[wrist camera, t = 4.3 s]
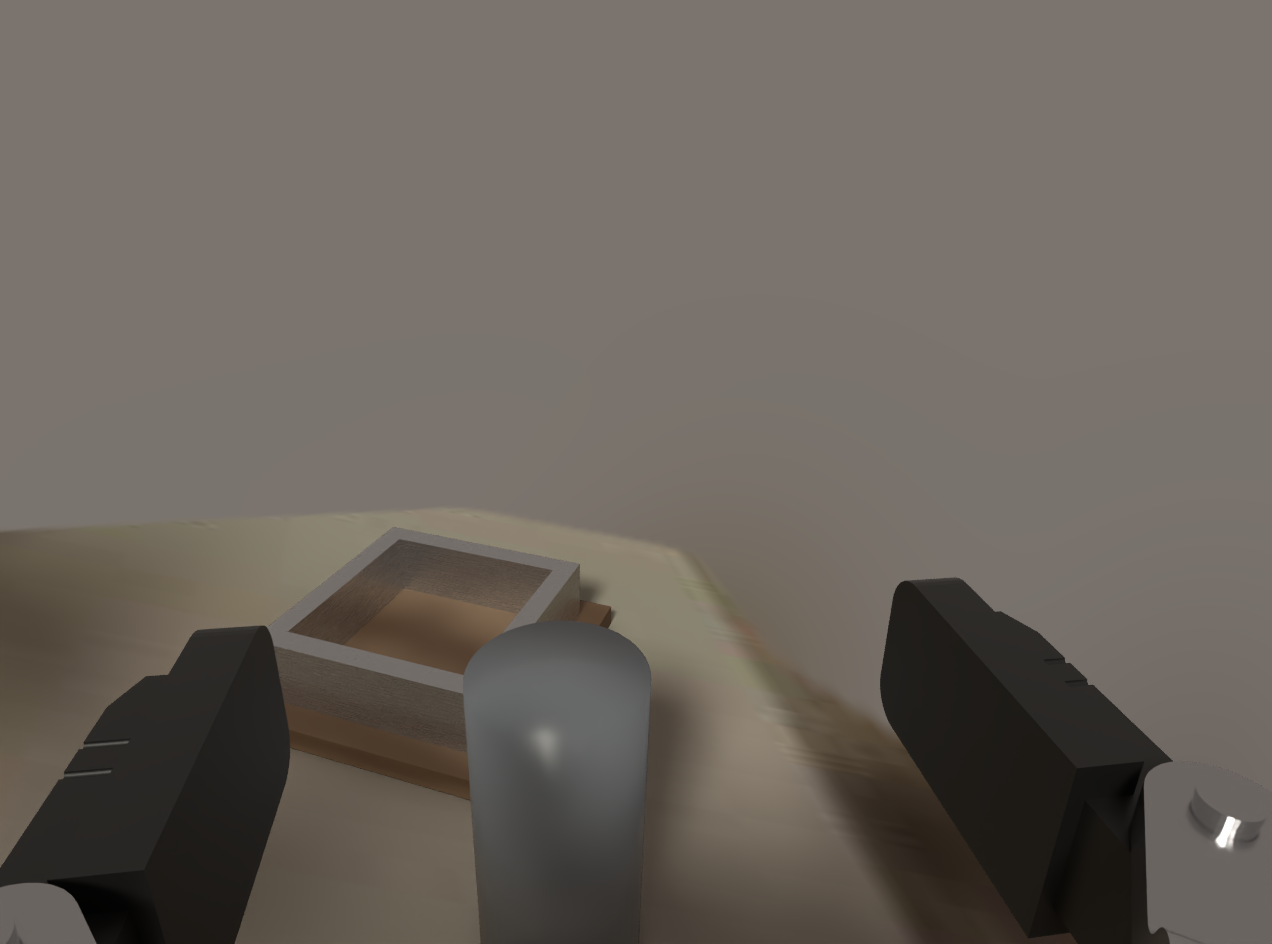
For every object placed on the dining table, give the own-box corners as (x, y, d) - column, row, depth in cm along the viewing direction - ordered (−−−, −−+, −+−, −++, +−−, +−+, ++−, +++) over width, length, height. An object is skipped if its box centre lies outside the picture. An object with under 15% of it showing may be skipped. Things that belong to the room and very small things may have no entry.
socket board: (497, 808, 32) (496, 788, 31) (221, 727, 35) (217, 709, 35) (610, 622, 43) (611, 606, 43) (392, 575, 47) (391, 560, 46)
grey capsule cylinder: (607, 1052, 24) (614, 763, 19) (453, 996, 25) (426, 713, 21) (657, 906, 28) (672, 641, 24) (522, 865, 30) (513, 606, 25)
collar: (482, 757, 33) (478, 697, 32) (262, 697, 36) (251, 640, 34) (579, 614, 42) (579, 563, 41) (398, 575, 45) (393, 526, 44)
